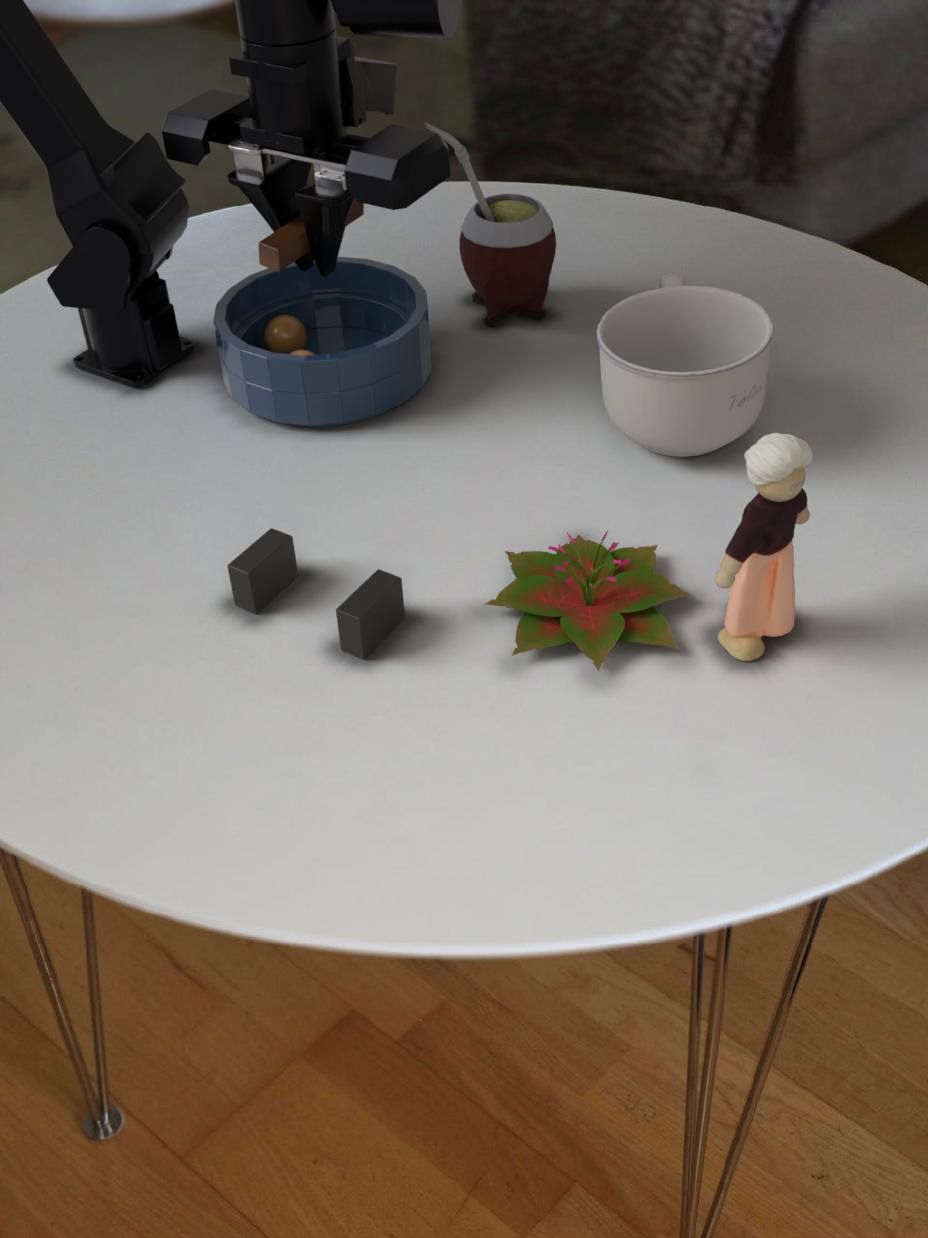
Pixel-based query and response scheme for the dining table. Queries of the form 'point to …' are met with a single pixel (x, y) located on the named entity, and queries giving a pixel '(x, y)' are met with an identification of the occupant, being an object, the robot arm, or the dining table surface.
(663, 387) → the teacup
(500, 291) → the mate gourd
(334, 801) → the dining table surface
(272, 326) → the bead
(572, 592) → the red green leafy plant
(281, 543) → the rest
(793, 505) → the grandmother figurine
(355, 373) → the bowl
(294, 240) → the stick
